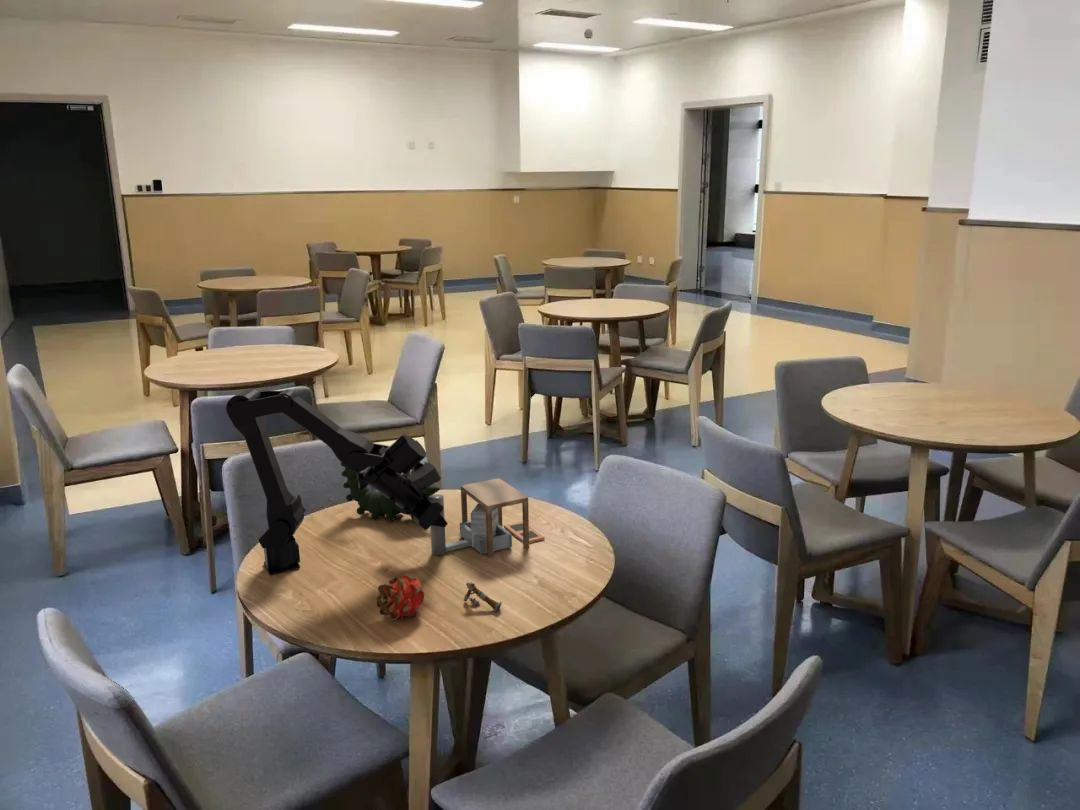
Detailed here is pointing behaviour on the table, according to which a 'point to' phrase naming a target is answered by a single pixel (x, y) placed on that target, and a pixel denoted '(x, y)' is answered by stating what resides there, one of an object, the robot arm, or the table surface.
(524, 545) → the miniature wooden table
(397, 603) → the dragon fruit
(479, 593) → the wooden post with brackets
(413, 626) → the table surface
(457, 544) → the grey post with tray
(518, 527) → the pit plate
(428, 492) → the toy figurine
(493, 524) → the medicine box
